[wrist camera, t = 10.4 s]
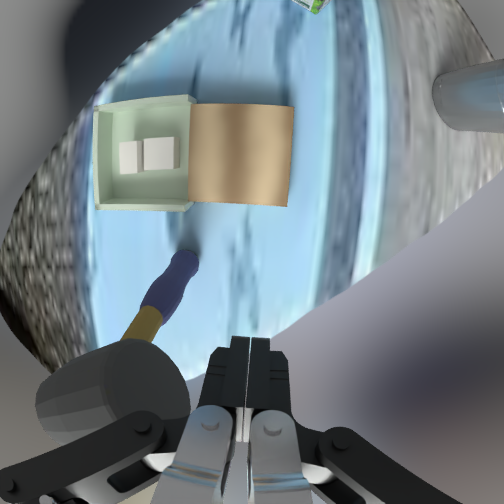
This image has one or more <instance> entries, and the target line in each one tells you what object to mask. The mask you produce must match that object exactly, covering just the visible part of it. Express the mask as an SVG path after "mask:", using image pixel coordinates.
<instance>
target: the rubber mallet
mask: <svg viewBox="0 0 504 504" xmlns="http://www.w3.org/2000/svg"><path fill="white" fill-rule="evenodd" d="M198 267H199V260H198V258H197V257H196V255H195V254H194V253H193V252H191V251H189V250H180V251H178V252H177V253H175V254H174V255H173V257H172V259H171V263H170V265H169V266H168V268H167V269H166V270H165V272H164V273H163V274H162V275H161V276H160V277H158V278H157V279H156V280H155V281H154V282H153V284H152V285H151V286H150V288H149V290H148V291H147V293H146V295H145V297H144V299H143V301H142V303H141V305H140V310H139V312H138V314H137V315H136V317H135V318H134V320H133V321H132V323H131V324H130V326H129V327H128V329H127V330H126V332H125V333H124V335H123V337H122V338H121V340H120V341H117V342H115V343H112V344H109V345H107V346H104V347H102V348H99V349H96V350H94V351H91V352H89V353H86V354H84V355H82V356H79V357H77V358H75V359H72V360H71V361H69V362H68V363H66V364H65V365H64V366H62V367H61V368H59V369H58V370H57V371H55V372H54V373H53V374H52V375H51V376H49V377H48V378H47V379H46V380H45V381H44V382H42V383H41V385H40V387H39V389H38V391H37V393H36V403H35V407H36V411H37V416H38V419H39V421H40V423H41V425H42V427H43V429H44V430H45V432H46V433H47V434H48V435H49V436H50V437H51V438H52V439H53V440H54V441H55V442H57V443H58V444H60V445H62V446H63V445H66V444H68V443H70V442H73V441H75V440H77V439H79V438H81V437H84V436H86V435H88V434H90V433H92V432H94V431H96V430H98V429H100V428H103V427H105V426H107V425H109V424H111V423H113V422H115V421H117V420H119V419H120V418H122V417H124V416H126V415H128V414H130V413H132V412H135V411H140V410H145V411H150V412H153V413H155V414H156V415H158V416H159V417H160V418H161V420H166V419H178V418H182V417H185V416H188V415H189V414H190V410H191V406H190V398H189V392H188V389H187V386H186V383H185V380H184V378H183V376H182V375H181V373H180V371H179V369H178V367H177V366H176V365H175V364H174V362H173V361H172V360H171V359H170V357H169V356H168V355H167V354H166V353H164V352H163V351H162V350H161V349H160V348H158V347H157V346H156V345H154V344H152V343H151V342H152V341H153V339H154V337H155V335H156V333H157V332H158V330H159V328H160V327H161V326H162V325H164V324H165V323H166V322H167V321H168V320H169V319H170V317H171V316H172V314H173V313H174V312H175V310H176V309H177V307H178V305H179V304H180V302H181V300H182V297H183V293H184V290H185V287H186V285H187V283H188V282H189V280H190V278H191V277H193V276H194V275H195V274H196V272H197V271H198Z"/></svg>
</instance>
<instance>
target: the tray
mask: <svg viewBox="0 0 504 504" xmlns="http://www.w3.org/2000/svg"><path fill="white" fill-rule="evenodd" d="M191 104H197V100H196V99H195V98H193V97H191V96H190V95H188V94H186V95H171V96H160V97H150V98H142V99H134V100H127V101H121V102H115V103H109V104H103V105H98V106H94V118H93V182H94V199H95V210H138V211H173V212H185V211H187V210H188V209H189V208H190V207H191V206H193V205H194V202H192V201H188V157H189V128H190V108H191ZM161 137H180V168H176V169H161V170H148V171H144V172H140V173H132V174H120V158H119V143H121V142H129V141H144V139H148V138H161Z"/></svg>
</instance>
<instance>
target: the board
mask: <svg viewBox="0 0 504 504" xmlns="http://www.w3.org/2000/svg"><path fill="white" fill-rule="evenodd" d="M293 118H294V107H288V106H276V105H260V104H223V103H220V104H191V108H190V128H189V157H188V201H192V202H217V203H237V204H254V205H269V206H283V207H287V202H288V190H289V177H290V164H291V150H292V135H293Z"/></svg>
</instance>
